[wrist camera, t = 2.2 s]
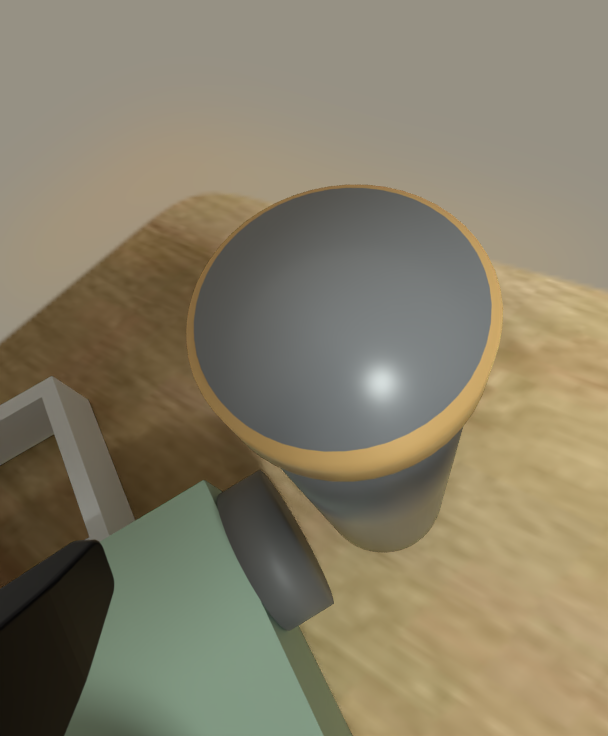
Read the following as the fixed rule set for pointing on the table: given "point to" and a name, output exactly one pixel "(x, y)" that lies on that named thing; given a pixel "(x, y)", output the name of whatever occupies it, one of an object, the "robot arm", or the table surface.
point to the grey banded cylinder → (350, 350)
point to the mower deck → (188, 596)
